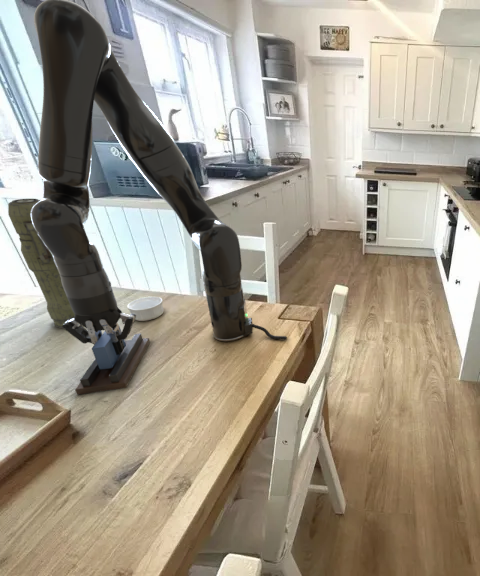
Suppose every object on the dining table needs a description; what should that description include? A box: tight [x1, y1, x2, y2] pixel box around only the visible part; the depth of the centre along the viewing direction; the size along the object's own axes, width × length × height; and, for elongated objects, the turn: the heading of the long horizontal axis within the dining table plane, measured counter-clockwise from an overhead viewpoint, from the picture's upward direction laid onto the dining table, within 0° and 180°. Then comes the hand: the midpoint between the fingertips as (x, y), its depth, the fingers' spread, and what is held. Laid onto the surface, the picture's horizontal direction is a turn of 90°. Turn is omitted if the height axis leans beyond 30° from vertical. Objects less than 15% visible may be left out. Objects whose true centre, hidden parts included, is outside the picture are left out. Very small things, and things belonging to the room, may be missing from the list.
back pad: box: [91, 325, 126, 370], centre depth 77 cm, size 2×9×6 cm, turn 18°
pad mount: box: [74, 333, 151, 395], centre depth 79 cm, size 9×18×4 cm, turn 18°
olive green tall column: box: [7, 198, 82, 329], centre depth 88 cm, size 9×12×35 cm
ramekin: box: [126, 295, 164, 322], centre depth 100 cm, size 9×9×4 cm
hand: (112, 353), depth 78 cm, fingers closed on back pad, 2 cm apart
